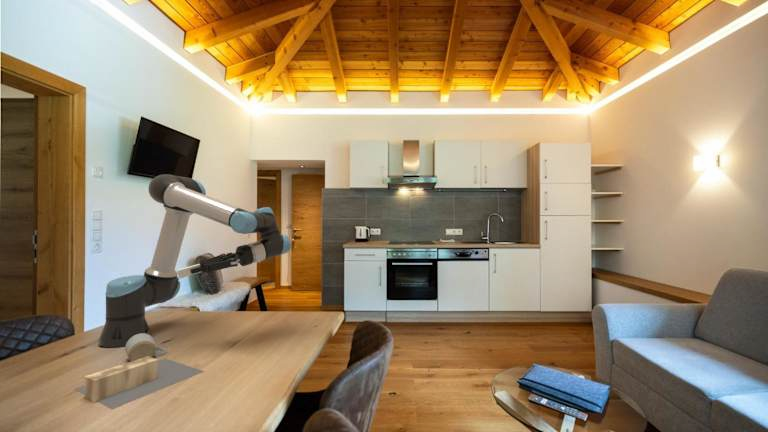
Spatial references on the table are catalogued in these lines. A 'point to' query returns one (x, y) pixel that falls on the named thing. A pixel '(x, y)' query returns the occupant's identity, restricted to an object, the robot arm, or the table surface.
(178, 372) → the felt mat
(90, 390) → the beech block
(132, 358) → the ceramic mug
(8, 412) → the table surface
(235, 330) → the table surface
